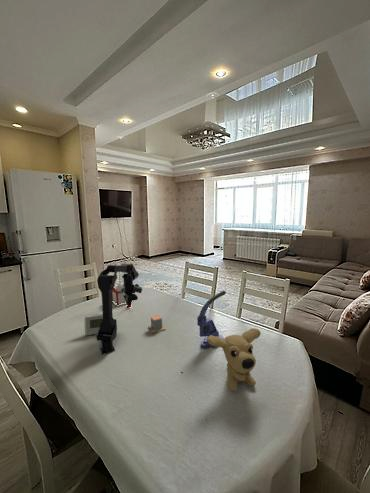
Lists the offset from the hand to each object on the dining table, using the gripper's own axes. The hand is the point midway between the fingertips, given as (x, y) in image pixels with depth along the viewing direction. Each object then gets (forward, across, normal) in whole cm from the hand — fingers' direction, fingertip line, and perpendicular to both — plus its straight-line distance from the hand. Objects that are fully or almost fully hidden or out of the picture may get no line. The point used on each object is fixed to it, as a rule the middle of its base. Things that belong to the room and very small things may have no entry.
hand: (129, 306), depth 149 cm
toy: (+12, -72, -26) cm, 78 cm away
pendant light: (+12, +40, -3) cm, 42 cm away
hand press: (+12, -43, -34) cm, 57 cm away
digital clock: (+12, 0, +19) cm, 23 cm away
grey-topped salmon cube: (+11, -14, -13) cm, 22 cm away
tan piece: (+12, -14, -13) cm, 22 cm away
